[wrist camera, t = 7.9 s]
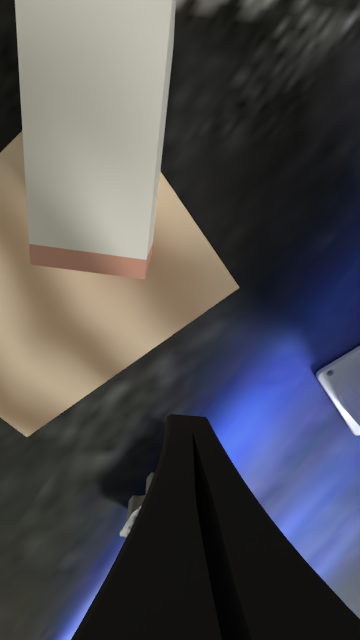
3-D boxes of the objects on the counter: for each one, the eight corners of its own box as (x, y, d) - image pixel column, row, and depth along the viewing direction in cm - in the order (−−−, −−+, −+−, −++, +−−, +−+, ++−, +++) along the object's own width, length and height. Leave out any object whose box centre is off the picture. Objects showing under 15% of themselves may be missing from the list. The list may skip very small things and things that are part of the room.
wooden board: (90, 70, 14) (87, 64, 13) (237, 285, 18) (239, 287, 18) (-140, 301, 17) (-150, 304, 17) (30, 431, 22) (26, 437, 21)
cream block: (151, 256, 17) (173, 47, 13) (144, 279, 11) (179, -74, 8) (76, 245, 16) (77, 26, 13) (30, 264, 11) (7, -119, 7)
